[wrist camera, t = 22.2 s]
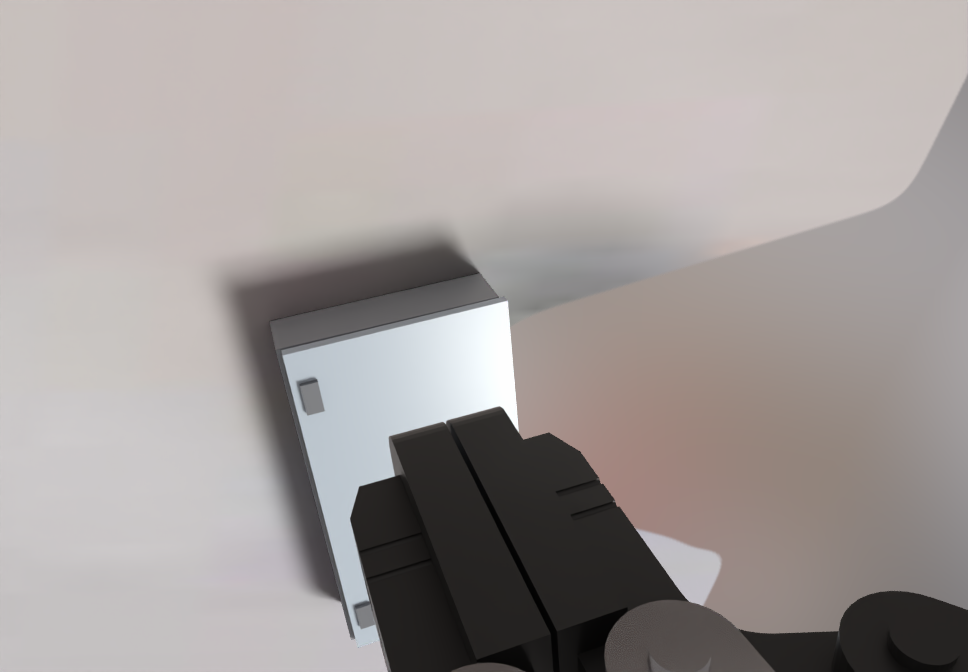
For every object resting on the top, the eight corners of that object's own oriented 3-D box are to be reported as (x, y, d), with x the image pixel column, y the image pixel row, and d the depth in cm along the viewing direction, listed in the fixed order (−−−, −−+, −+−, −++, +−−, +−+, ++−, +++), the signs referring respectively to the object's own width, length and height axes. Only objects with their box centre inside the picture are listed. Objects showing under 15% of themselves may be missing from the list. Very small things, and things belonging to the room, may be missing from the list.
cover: (356, 641, 56) (358, 651, 55) (281, 350, 44) (282, 358, 43) (528, 583, 59) (533, 592, 58) (504, 296, 47) (509, 302, 46)
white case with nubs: (342, 603, 59) (351, 640, 56) (269, 321, 47) (275, 349, 44) (508, 551, 62) (524, 583, 59) (480, 273, 50) (498, 296, 47)
